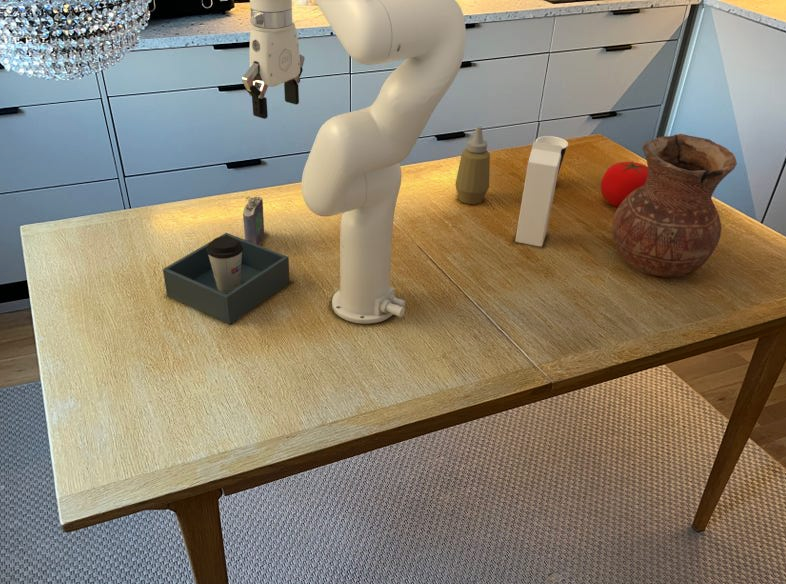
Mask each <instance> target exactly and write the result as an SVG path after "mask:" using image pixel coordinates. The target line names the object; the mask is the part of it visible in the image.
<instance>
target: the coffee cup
mask: <svg viewBox="0 0 786 584" xmlns="http://www.w3.org/2000/svg"><path fill="white" fill-rule="evenodd" d="M220 236H221V235H220ZM220 236H218V237H215V238H214V239H213V240H211V241H212V242H211V241H210V242H211V243H209V242H208V243H209V244H208V246H207V249H206V251H207V253H208V255H209V259H210V263H211V266H212V270H213V274H214V278H215V282H216V286H217V289H218V290H219V291H220V292H223V293H230V292H231V291H233V290H234V289H236V288H237V287H239V286H240V284H241V262H242V250H243V246H242V244H241V243H240V242H239V241H237V240H236V239H234V238H233V237H229V236H221V237H220Z"/></svg>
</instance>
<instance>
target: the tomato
mask: <svg viewBox="0 0 786 584" xmlns="http://www.w3.org/2000/svg"><path fill="white" fill-rule="evenodd" d="M647 175H648V165H646V164H643V163H640V162H635V161H633V160H631V161H621V162H620V161H619V162H617V163H614V164H611V166H610V167H608V168H607V169H606V171H605V172H604V174H603V177H602V179H601V183H600V190H601V195H602V197H603V199H604V200H605V201H606V202H607V203H608V204H609V205H611V206H612V207H614V208H617V209H618V207H619V205H620V204H621V203H622V201H623V200H624V199H625V198H626V197H627V196H628V195H629V194H630V193H631V192H633V191H634V190H636V189H637V188H639V187H641V186H643V185H644V184H645V183H646V180H647Z"/></svg>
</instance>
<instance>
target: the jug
mask: <svg viewBox="0 0 786 584" xmlns="http://www.w3.org/2000/svg"><path fill="white" fill-rule="evenodd" d="M641 150H642V151H643V153H644V156H645V160H646V164H647V165H646V166H647V167H648V175H647V180H646V183H645V184H644V185H643V186H641V187H639V188H637V189H636V190H634V191H633V192H631V193H630V194H629V195H628V196H627V197H626V198H625V199H624V200H623V201H622V203H621V204H620V205H619V207H618V208H617V209H616V210H615V213H614V216H613V220H612V228H611V229H612V239H613V241H614V245H615V248H616V249H617V252H618V253H619V255H620V257H621V258H622V259H623V260H624V262H625V263H627V264H628V265H629V266H630V267H632V268H633V269H635V270H637V271H639V272H641V273H643V274H646V275H649V276H655V277H661V278H677V277H682V276H684V275H688V274H689V273H691V272H693V271H696V270H697V269H699V268H700V267H702V266H703V265H704V264H705V263H706V262H707V261H708V260H709V258H710V257H711V256H712V255H713V253H714V251H715V249H716V248H717V247H718V244H719V242H720V238H721V235H722V223H721V218H720V214H719V212H718V210H717V207H716V205H715V203H714V201H713V200H712V198H713V194H714V193H715V190H716V189H717V187H718V186H719V184H720V183H721V182H722V181H723V180H725V179H724V178H726V177H727V176H728V175H729V174H730V173H732V171H734V170H735V169H736V166H737V164H738V162H737V159H736V157H735V155H734V153H733V152H732V151H730V150H729V149H728V148H726V147H725V146H723V145H721V144H720V143H717V142H714V141H712V140H711V139H708V138H706V137H698V136H695V135H689V134H684V133H678V134H676V133H675V134H673V135H670V136H669V135H665V136H664V135H663V136H658V137H655V138H654V139H652V140H648V141H646V142H644V143H643V145H642V149H641Z"/></svg>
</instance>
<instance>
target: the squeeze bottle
mask: <svg viewBox="0 0 786 584" xmlns="http://www.w3.org/2000/svg"><path fill="white" fill-rule="evenodd" d="M483 137H484V136H483V128H482V126H480V125H477V126H476V127H475V130H474V133H473V136H472V138H470V139H469V140H467V142H466V147H465V149H463V150H462V151H461V157H460V160H459V164H458V170H457V174H456V179H455V182H454V183H455V184H454V185H455V189H456V193H457V197H458V200H459V201H460V202H462V203H464V204H469V205H477V204H480V203H482V202H483V200H484V199H485V196H486V194H487V192H488V191H489V188H490V169H491V167H490V166H491V153H490V152H489V151H488V149H487V148H488V142H487V141H486V140H484V138H483Z"/></svg>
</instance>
